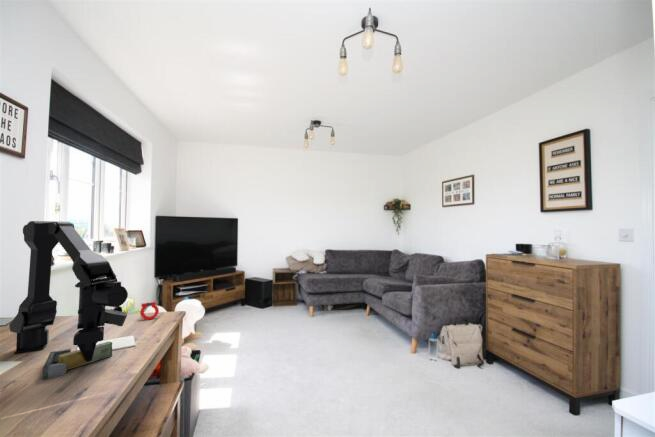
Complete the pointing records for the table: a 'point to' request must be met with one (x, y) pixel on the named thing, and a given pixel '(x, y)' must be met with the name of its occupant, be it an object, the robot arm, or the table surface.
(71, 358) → the medication box
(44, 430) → the table surface
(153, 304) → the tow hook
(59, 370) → the cradle stand
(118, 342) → the felt pad
